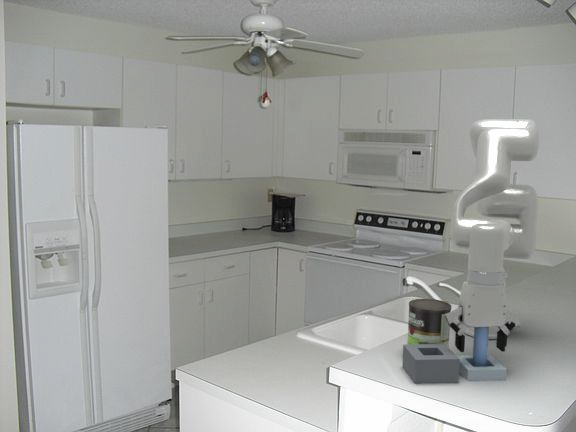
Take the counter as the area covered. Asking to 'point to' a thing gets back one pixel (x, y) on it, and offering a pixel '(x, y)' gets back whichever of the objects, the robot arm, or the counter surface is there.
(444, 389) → the counter surface
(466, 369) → the square frame plate
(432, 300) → the coffee can
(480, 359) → the plug
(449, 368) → the port
